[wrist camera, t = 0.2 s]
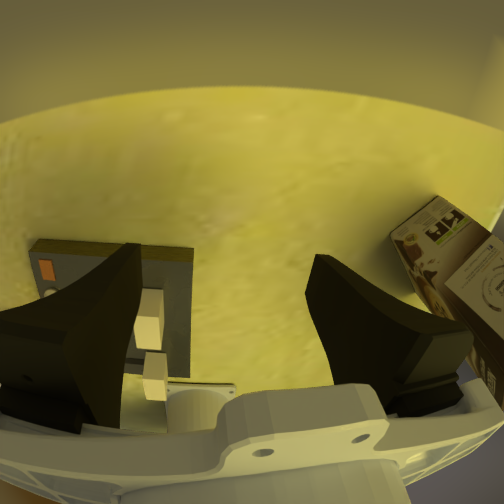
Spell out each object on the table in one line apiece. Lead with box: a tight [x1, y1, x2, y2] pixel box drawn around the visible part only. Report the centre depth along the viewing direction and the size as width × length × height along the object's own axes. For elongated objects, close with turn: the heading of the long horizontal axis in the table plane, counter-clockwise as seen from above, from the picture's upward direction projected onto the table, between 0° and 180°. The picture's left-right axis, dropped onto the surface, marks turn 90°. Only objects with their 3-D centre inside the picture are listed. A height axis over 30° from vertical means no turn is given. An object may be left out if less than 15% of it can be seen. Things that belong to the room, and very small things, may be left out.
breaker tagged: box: [134, 288, 164, 350], centre depth 21 cm, size 3×2×3 cm, turn 172°
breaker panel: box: [28, 239, 194, 378], centre depth 24 cm, size 13×13×2 cm
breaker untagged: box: [142, 352, 168, 401], centre depth 25 cm, size 3×2×3 cm, turn 172°
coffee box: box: [390, 196, 504, 411], centre depth 19 cm, size 9×6×16 cm
